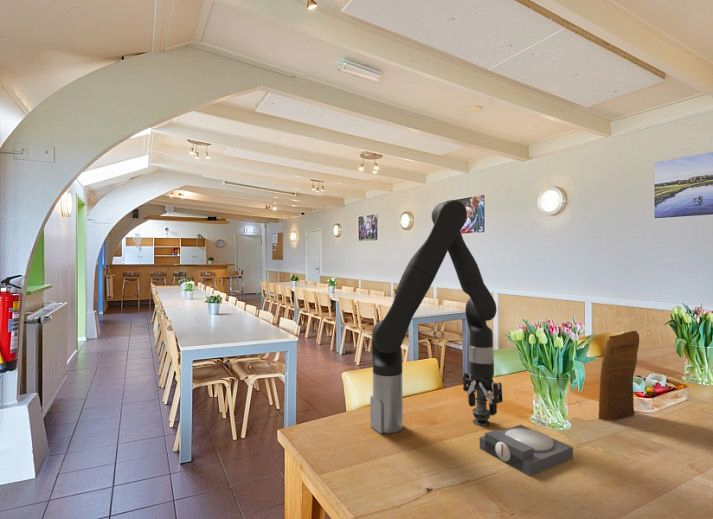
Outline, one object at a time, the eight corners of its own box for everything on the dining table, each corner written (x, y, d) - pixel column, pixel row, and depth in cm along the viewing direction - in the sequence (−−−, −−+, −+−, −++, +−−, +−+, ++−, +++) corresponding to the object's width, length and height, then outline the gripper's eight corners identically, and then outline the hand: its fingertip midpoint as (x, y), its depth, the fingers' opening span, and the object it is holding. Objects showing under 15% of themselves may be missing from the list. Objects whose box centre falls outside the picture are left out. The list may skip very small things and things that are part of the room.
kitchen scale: (529, 476, 94) (528, 456, 94) (478, 448, 108) (478, 430, 108) (572, 458, 102) (572, 439, 102) (520, 434, 116) (520, 417, 116)
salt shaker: (492, 427, 121) (492, 388, 121) (472, 425, 123) (472, 387, 123) (489, 419, 127) (489, 382, 127) (471, 418, 128) (471, 381, 128)
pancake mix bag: (648, 415, 129) (647, 331, 129) (608, 425, 122) (608, 336, 122) (627, 408, 136) (627, 328, 136) (589, 417, 129) (588, 332, 129)
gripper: (456, 356, 129) (457, 405, 129) (490, 366, 117) (491, 420, 117) (473, 353, 133) (474, 401, 133) (507, 363, 120) (508, 415, 120)
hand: (482, 410), depth 125 cm, fingers open, 8 cm apart
